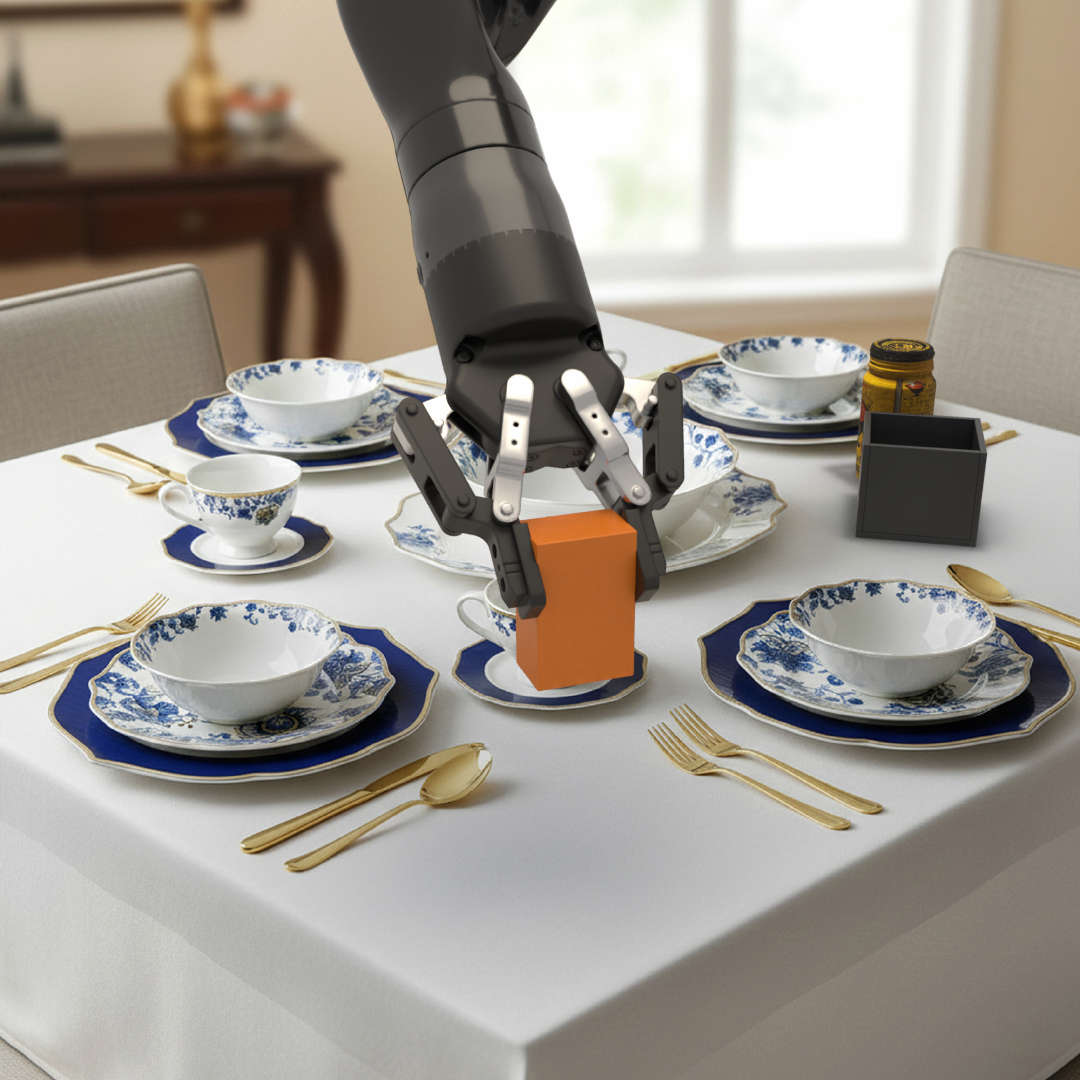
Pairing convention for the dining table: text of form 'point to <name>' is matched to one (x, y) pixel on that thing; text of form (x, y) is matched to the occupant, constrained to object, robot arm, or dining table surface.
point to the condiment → (897, 381)
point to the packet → (581, 601)
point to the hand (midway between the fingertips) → (591, 602)
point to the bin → (921, 478)
